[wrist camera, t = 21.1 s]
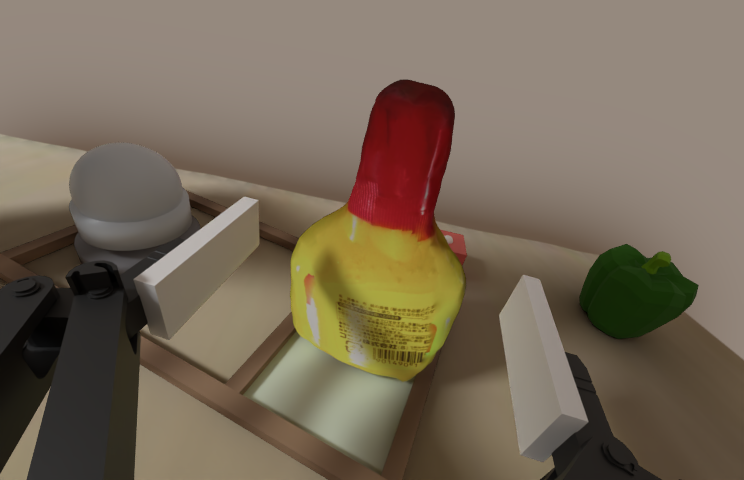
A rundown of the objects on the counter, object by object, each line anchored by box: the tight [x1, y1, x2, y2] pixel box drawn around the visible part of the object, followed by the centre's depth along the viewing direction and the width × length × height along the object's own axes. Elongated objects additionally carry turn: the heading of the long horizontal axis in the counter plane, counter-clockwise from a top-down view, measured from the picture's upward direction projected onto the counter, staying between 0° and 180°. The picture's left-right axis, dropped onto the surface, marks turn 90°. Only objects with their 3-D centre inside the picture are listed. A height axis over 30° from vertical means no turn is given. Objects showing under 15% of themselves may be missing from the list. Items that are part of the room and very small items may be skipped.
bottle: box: [290, 80, 466, 382], centre depth 21 cm, size 12×6×20 cm, turn 74°
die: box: [441, 230, 467, 265], centre depth 36 cm, size 4×4×5 cm
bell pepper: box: [580, 244, 698, 339], centre depth 33 cm, size 8×8×10 cm
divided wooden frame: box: [0, 190, 442, 480], centre depth 29 cm, size 36×18×2 cm, turn 66°
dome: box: [69, 143, 192, 251], centre depth 29 cm, size 9×9×8 cm
